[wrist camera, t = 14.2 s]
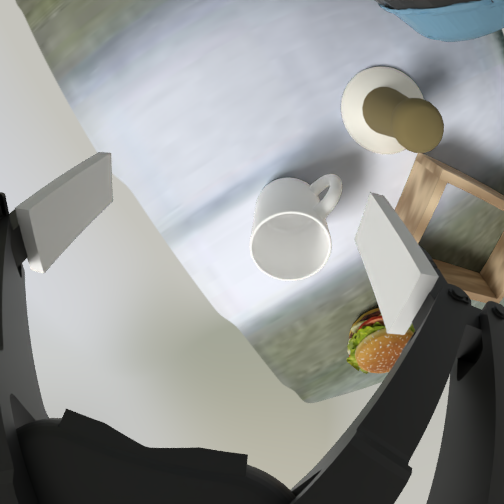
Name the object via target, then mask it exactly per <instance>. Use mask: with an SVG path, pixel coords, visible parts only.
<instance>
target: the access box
mask: <svg viewBox="0 0 504 504" xmlns="http://www.w3.org/2000/svg"><path fill="white" fill-rule="evenodd" d="M447 182H448V183H450V184H452V185H454V186H456V187H458V188H460V189H462V190H464V191H466V192H468V193H471V194H473V195H475V196H476V197H478V198H480V199H482V200H484V201H486V202H488V203H490V204H492V205H494V206H496V207H497V208H499V209H501V210H503V211H504V195H502V194H500V193H499V192H497V191H495V190H494V189H492V188H490V187H488V186H487V185H485V184H483V183H481V182H479V181H478V180H476V179H474V178H472V177H470V176H468V175H466V174H464V173H462V172H460V171H458V170H457V169H455V168H452V167H450V166H448V165H446V164H444V163H442V162H440V161H438V160H436V159H434V158H432V157H429V156H427V155H425V154H423V153H418V154H417V157H416V160H415V162H414V165H413V167H412V170H411V173H410V175H409V177H408V180H407V182H406V185H405V187H404V190H403V192H402V194H401V197H400V199H399V201H398V204H397V206H396V208H395V212H396V213H397V214H398V216H399V217H400V219H401V220H402V221H403V223H404V224H405V226H406V227H407V228H408V230H409V231H410V233H411V234H412V236H413V237H414V239H415V240H416V242H417V243H419V241H420V239H421V237H422V235H423V233H424V231H425V229H426V227H427V225H428V223H429V221H430V219H431V217H432V215H433V213H434V211H435V208H436V206H437V204H438V202H439V200H440V198H441V195H442V193H443V191H444V188H445V186H446V184H447ZM433 261H434V262H435V264H436V265H437V268H438V269H439V270H440V272H441V273H442V275H443V276H444V278H445V280H446V281H447V283H448V284H452V285H455V286H457V287H459V288H461V289H462V290H463V291H464V292H465V293H466V294H467V295H468V296H469V298H470V299H472V300H476V301H480V302H485V303H487V302H488V301H494V302H497V303H498V304H499V303H500V301H501V300H502V298H503V297H504V231H503V233H502V235H501V237H500V239H499V241H498V243H497V244H496V246H495V248H494V250H493V252H492V253H491V255H490V257H489V258H488V260H487V262H486V264H485V265H484V267H483V269H482V270H481V272H480V273H478V272H474V271H471V270H468V269H465V268H462V267H459V266H455V265H452V264H449V263H446V262H442V261H439V260H436V259H433Z"/></svg>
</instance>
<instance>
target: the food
mask: <svg viewBox="0 0 504 504" xmlns="http://www.w3.org/2000/svg"><path fill="white" fill-rule="evenodd" d="M414 332H415V329H414V327H413V324H411V325H410V327H409V329H408V330H407V332H406V333H405V335H400V334H387V330H386V327H385V324H384V321H383V318H382V315H381V312H380V309H379V308H375V309H372V310H370V311H368V312H366V313H365V314H363V315H362V316H361V317H360V318H359V319H358V320H357V321H356V322H355V323H354V324H353V325H352V328H351V330H350V333H349V339H350V340H349V342H348V354H349V357H348V358H347V362H348V363H349V364H351V365H352V366H353V367H354V368H356V369H357V370H358V371H359V368H360V369H361V371H362V372H363V373H366V374H367V373H369V372H370V373H385V372H389V371H390V370H391V369H392V367H393V366H394V364H395V362H396V361H397V359H398V358H399V356H400V354H401V353H402V350H403V348H404V347H405V345H406V344H407V342H408V341H409V339H410V338H411V336H412V335H413V333H414Z"/></svg>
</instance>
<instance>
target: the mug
mask: <svg viewBox="0 0 504 504" xmlns="http://www.w3.org/2000/svg"><path fill="white" fill-rule="evenodd" d="M328 186H330V187H329V190H328V192H327V193H326V195H325V196H324V198H323V199H322V200H321V201H320V200H319V197H318V195H319V194H320V193H321V192H322V191H323V190H324V189H325V188H327V187H328ZM341 192H342V181H341V179H340V178H339V176H337V175H335V174H327V175H324V176H322V177H320V178H319V179H317V180H316V181H315V182H314V183H312V184H311V185H309V184H308V183H306V182H304V181H302V180H300V179H297V178H289V177H287V178H280V179H277V180H274V181H272V182H271V183H269V184H268V185H266V186H265V187H264V188H263V190H262V191H261V192H260V194H259V196H258V198H257V202H256V206H255V213H254V219H253V226H252V232H251V239H250V253H251V256H252V259H253V261H254V263H255V264H256V266H257V267H258V268H259V269H260V270H261V271H262V272H264V273H265V274H267V275H269V276H270V277H273V278H275V279H279V280H285V281H296V280H301V279H305V278H307V277H310V276H312V275H314V274H315V273H317V272H318V271H319V270H320V269H321V268H322V267H323V266H324V265H325V264H326V262H327V261H328V259H329V256H330V253H331V249H332V241H331V236H330V233H329V229H328V226H327V222H326V219H325V218H326V217H327V216H328V215H329V214H330V212H331V211H332V210H333V209H334V207H335V206H336V204H337V202H338V200H339V198H340V196H341Z"/></svg>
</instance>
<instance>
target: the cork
mask: <svg viewBox="0 0 504 504" xmlns="http://www.w3.org/2000/svg"><path fill="white" fill-rule="evenodd" d="M362 111H363V117H364V119H365V122H366V123H367V125H368V126H369V127H370V128H371V129H372V130H373V131H375V132H376V133H379V134H382V135H386V136H389V137H393V138H396V140H397V141H398V143H399V144H400V145H402V146H403V147H404V148H405V149H407V150H409V151H412V152H414V153H426V152H429V151H431V150H433V149H434V148H435V147H436V146H437V145H438V144H439V142H440V141H441V139H442V136H443V132H444V124H443V120H442V116H441V114H440V113H439V111H438V109H437V108H436V107H434V106H433V105H432V104H431V103H430V102H428V101H426V100H424V99H421V98H408V97H407V96H405V95H403V94H402V93H400V92H399V91H397V90H395V89H393V88H390V87H379V88H375V89H373V90H372V91H371V92H369V93H368V94H367V96H366V98H365V99H364V102H363V106H362Z"/></svg>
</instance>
